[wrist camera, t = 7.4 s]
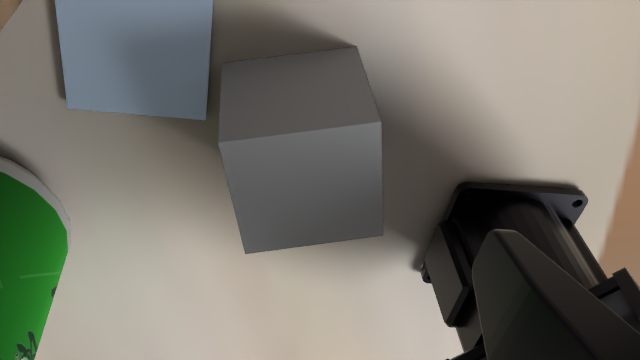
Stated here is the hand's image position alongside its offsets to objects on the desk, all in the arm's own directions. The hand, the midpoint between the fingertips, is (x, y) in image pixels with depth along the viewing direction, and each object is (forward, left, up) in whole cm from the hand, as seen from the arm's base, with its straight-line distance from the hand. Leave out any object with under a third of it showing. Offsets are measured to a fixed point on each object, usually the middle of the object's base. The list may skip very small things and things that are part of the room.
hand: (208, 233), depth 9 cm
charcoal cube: (-3, +6, -13) cm, 15 cm away
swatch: (+3, +4, -13) cm, 14 cm away
